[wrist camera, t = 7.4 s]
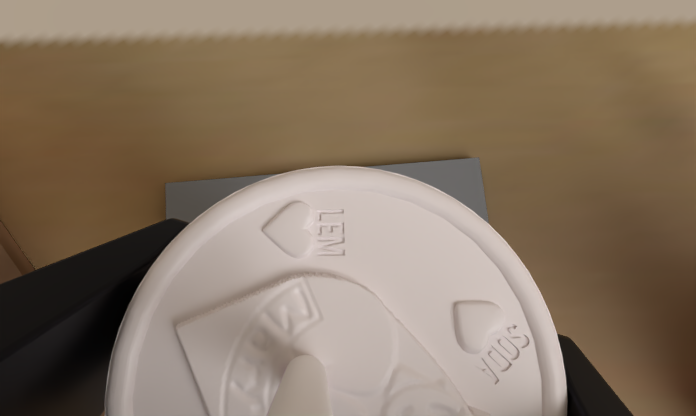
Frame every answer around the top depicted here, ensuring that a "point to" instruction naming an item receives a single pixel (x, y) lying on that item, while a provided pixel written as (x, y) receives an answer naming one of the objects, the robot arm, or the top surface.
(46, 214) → the top surface
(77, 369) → the robot arm
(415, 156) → the top surface
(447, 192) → the plate
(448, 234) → the smoothie
